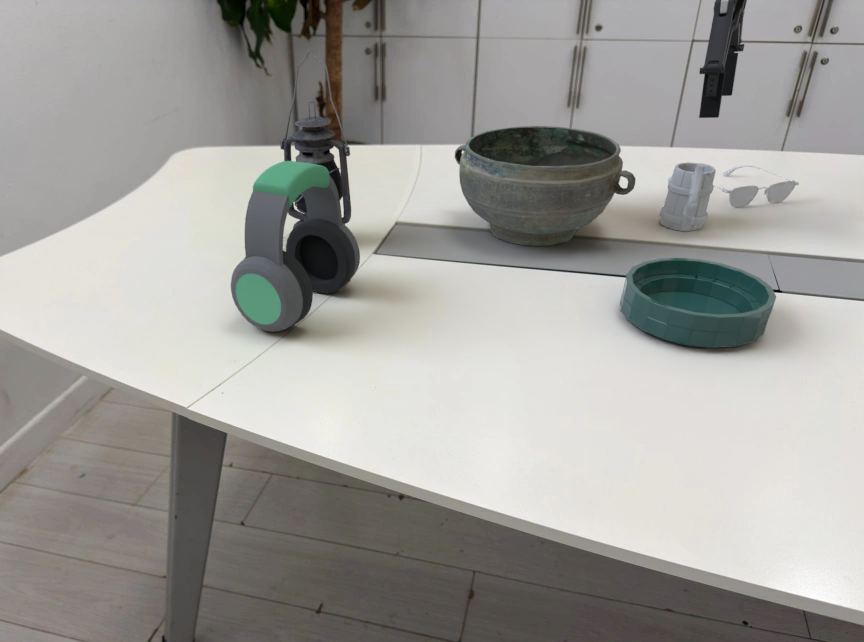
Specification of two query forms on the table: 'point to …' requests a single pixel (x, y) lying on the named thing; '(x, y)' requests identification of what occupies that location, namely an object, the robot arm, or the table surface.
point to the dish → (697, 302)
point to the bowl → (540, 180)
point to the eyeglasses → (747, 193)
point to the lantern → (318, 153)
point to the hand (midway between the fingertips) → (716, 106)
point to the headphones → (292, 247)
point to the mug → (688, 197)
